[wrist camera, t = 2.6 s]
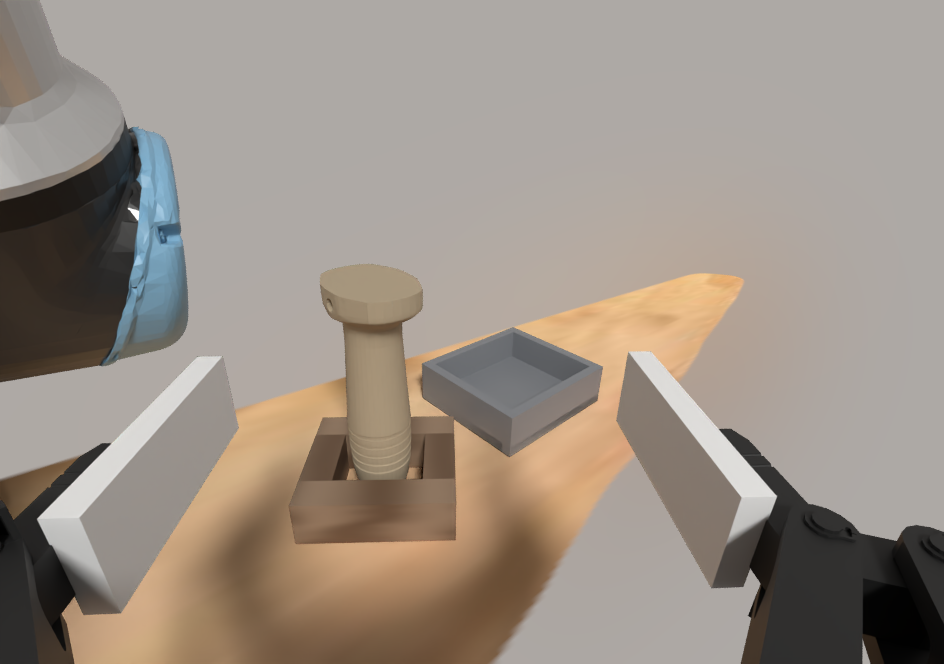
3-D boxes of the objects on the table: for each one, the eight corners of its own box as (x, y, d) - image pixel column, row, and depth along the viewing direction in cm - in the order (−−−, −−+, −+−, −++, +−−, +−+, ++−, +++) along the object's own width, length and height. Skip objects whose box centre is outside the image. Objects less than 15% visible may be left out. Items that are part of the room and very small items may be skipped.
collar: (295, 543, 28) (288, 506, 27) (327, 450, 36) (322, 417, 35) (455, 540, 29) (456, 502, 28) (453, 448, 37) (453, 416, 35)
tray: (509, 457, 36) (512, 418, 35) (422, 397, 43) (422, 363, 41) (597, 400, 43) (602, 366, 42) (510, 357, 50) (513, 327, 49)
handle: (376, 538, 29) (357, 310, 23) (330, 479, 33) (303, 274, 27) (441, 501, 32) (440, 289, 25) (390, 451, 36) (379, 259, 30)
